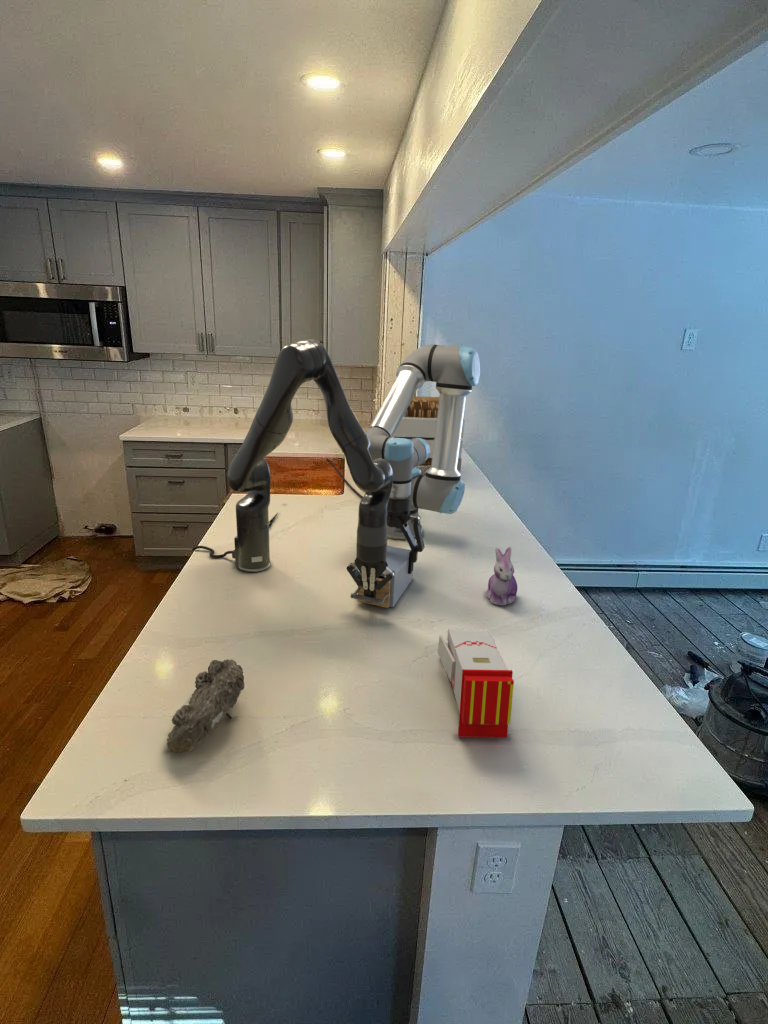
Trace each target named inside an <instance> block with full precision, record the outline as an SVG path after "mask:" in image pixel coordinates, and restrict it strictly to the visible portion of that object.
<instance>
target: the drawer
mask: <svg viewBox="0 0 768 1024" xmlns="http://www.w3.org/2000/svg"><path fill="white" fill-rule="evenodd" d="M384 578H385V577H383V576H379V578H378V582H377V583H379V582H381V581H382V580H383V579H384ZM390 595H391V580H390V581H389V582H388V583H386V584H385V585H384V586H383V587H382V588H381V589H380V590H377V589H376V598H373V597H368V596H364V588H363V587H362V586H358V585H357V589H356V590H355V591H353V592H351V594H350V595H349V596H350V599H354V600H357V603H364V604H368V605H373V606H377V607H382V608H385V609H388V608H390V607H389V606H390ZM366 601H368V602H372V603H368V602H366Z"/></svg>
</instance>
